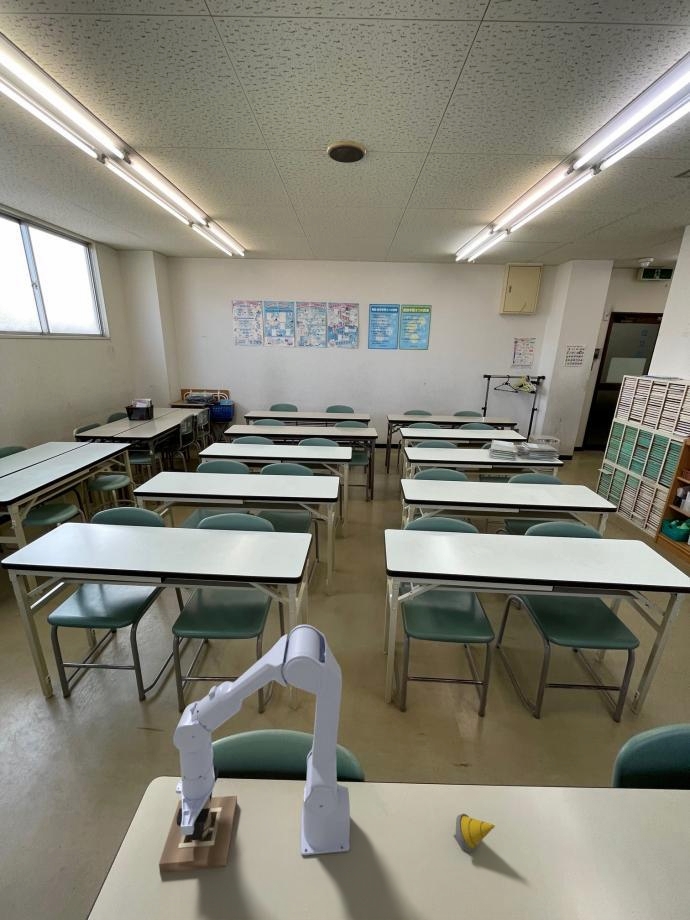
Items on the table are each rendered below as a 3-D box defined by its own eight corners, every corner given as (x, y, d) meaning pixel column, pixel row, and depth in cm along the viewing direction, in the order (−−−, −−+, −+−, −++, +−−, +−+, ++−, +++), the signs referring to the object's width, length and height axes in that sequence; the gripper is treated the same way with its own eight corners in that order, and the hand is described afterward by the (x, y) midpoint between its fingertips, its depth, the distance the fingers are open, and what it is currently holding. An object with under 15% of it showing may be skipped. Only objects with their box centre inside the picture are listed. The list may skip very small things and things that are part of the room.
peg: (214, 823, 78) (212, 792, 76) (208, 846, 74) (206, 813, 72) (195, 824, 77) (193, 792, 76) (188, 847, 74) (186, 814, 72)
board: (237, 803, 82) (236, 795, 81) (225, 866, 71) (225, 857, 70) (179, 807, 81) (179, 799, 80) (159, 872, 70) (158, 863, 69)
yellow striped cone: (457, 819, 80) (497, 809, 76) (464, 855, 75) (507, 847, 71) (442, 815, 78) (482, 804, 74) (448, 852, 73) (491, 843, 69)
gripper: (187, 732, 79) (191, 785, 82) (160, 808, 65) (166, 869, 68) (222, 730, 80) (224, 783, 82) (202, 804, 66) (206, 865, 68)
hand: (200, 821), depth 75 cm, fingers open, 5 cm apart
